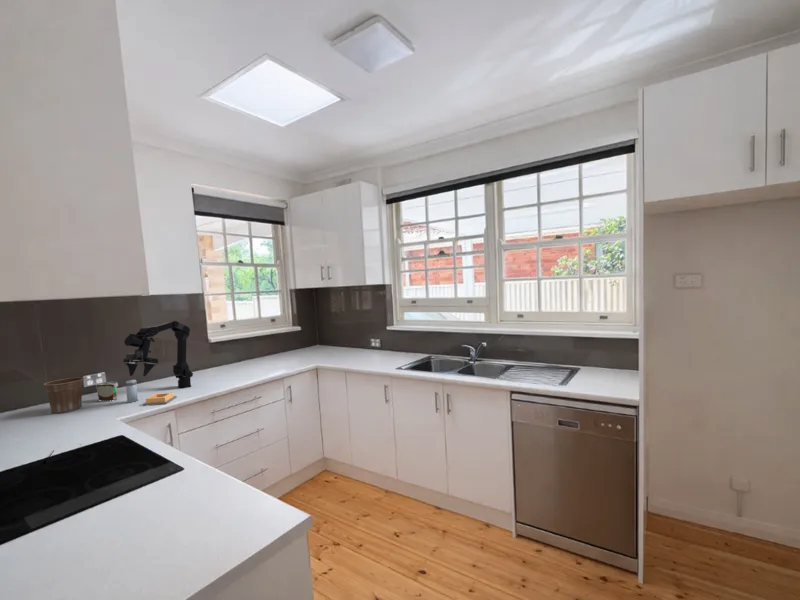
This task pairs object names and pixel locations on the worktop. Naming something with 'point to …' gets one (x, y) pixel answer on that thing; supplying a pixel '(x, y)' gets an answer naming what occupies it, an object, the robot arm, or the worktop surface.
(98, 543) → the worktop surface
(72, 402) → the plant pot
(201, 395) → the worktop surface
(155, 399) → the dock
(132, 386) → the canister
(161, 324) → the robot arm
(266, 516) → the worktop surface
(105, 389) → the food container
